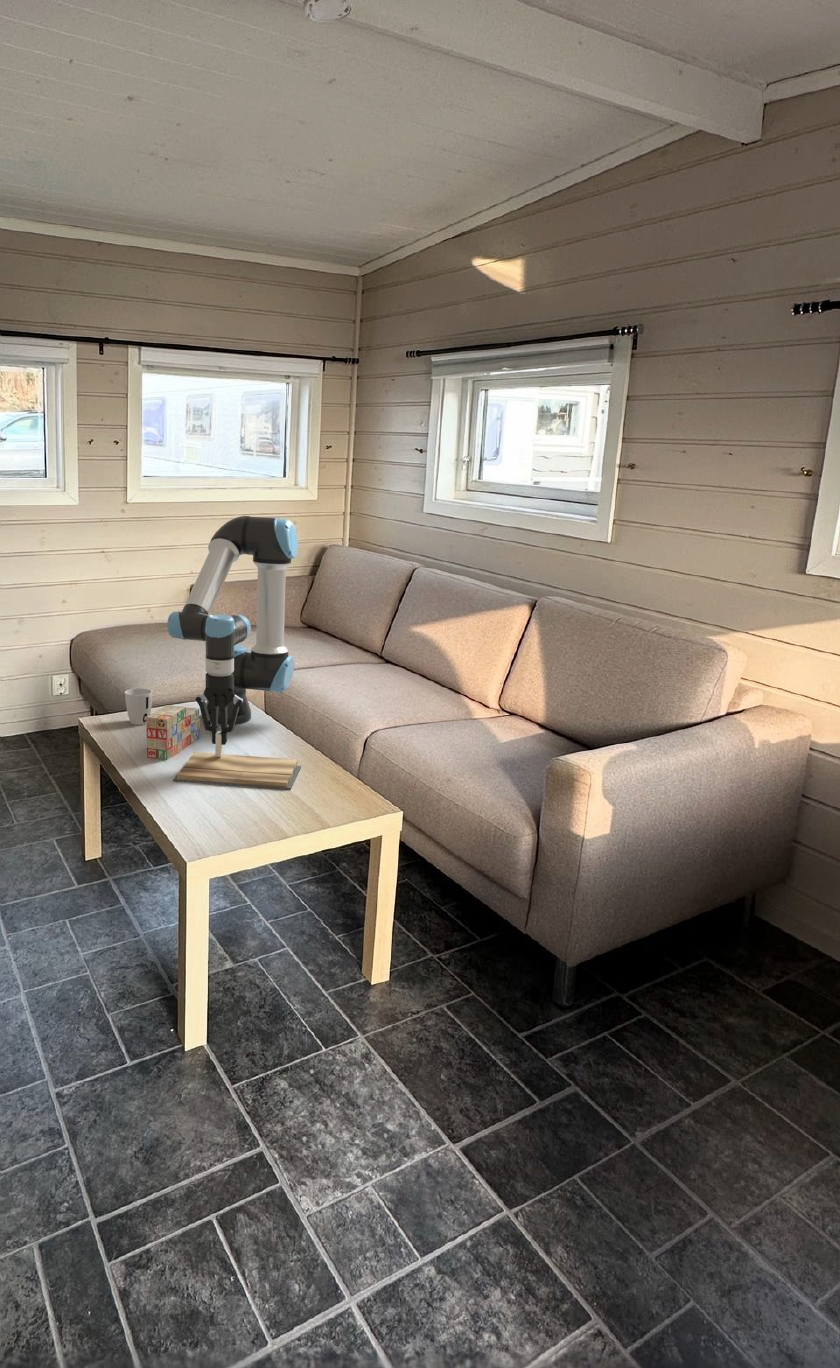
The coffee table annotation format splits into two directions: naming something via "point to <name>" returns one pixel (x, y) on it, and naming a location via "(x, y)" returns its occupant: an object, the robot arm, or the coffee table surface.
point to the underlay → (245, 784)
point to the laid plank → (234, 777)
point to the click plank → (242, 763)
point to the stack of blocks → (171, 731)
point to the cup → (138, 705)
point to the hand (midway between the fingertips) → (219, 755)
